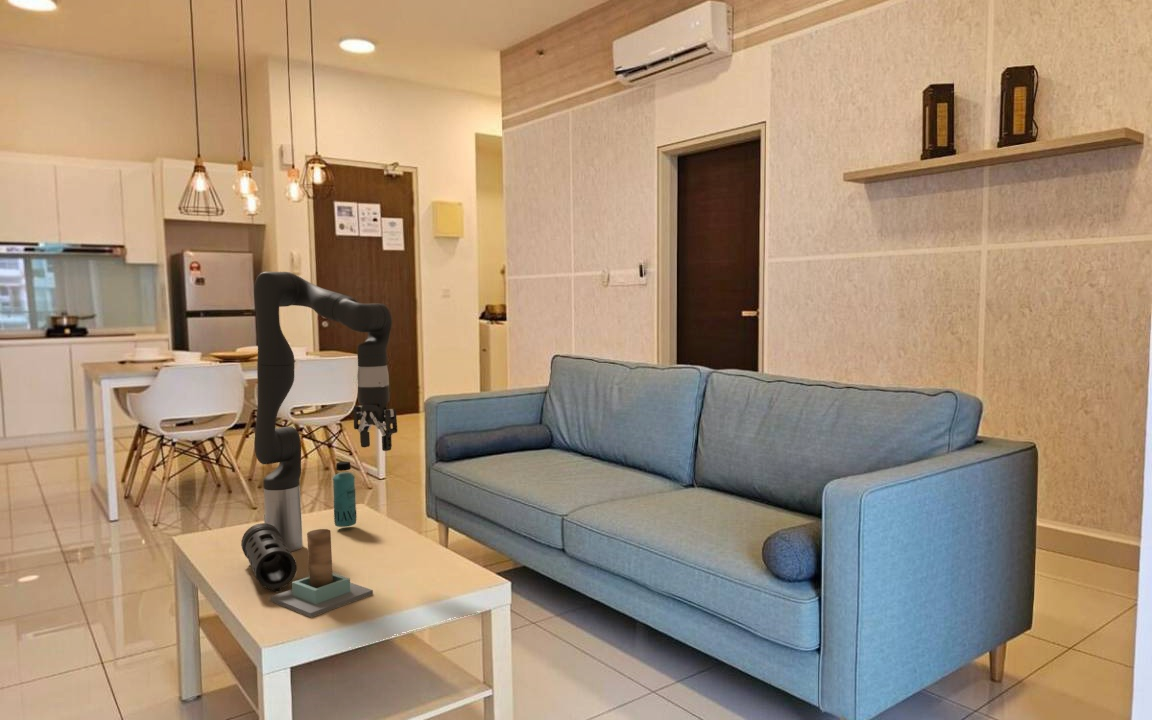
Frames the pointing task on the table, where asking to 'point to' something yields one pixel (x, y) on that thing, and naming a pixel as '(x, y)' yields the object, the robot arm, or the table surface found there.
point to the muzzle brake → (268, 556)
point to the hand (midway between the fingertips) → (376, 448)
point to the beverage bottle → (344, 496)
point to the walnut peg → (320, 557)
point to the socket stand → (320, 596)
